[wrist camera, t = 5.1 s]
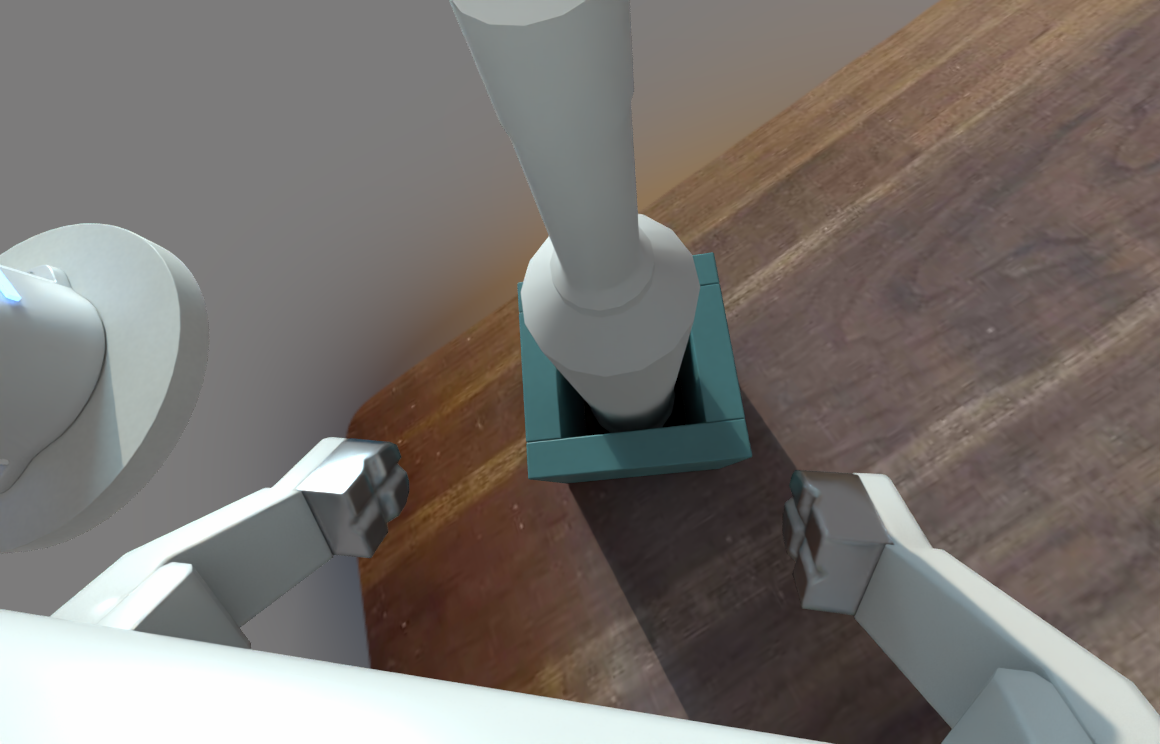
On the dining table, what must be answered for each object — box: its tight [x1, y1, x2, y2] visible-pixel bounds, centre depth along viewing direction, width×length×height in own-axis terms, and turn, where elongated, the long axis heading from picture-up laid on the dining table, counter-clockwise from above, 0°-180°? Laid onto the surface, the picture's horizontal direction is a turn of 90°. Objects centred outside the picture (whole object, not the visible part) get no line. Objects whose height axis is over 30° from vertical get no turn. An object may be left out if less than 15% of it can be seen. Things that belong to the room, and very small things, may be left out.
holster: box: [518, 253, 752, 483], centre depth 24 cm, size 9×9×9 cm
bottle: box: [449, 0, 700, 433], centre depth 17 cm, size 5×5×25 cm
